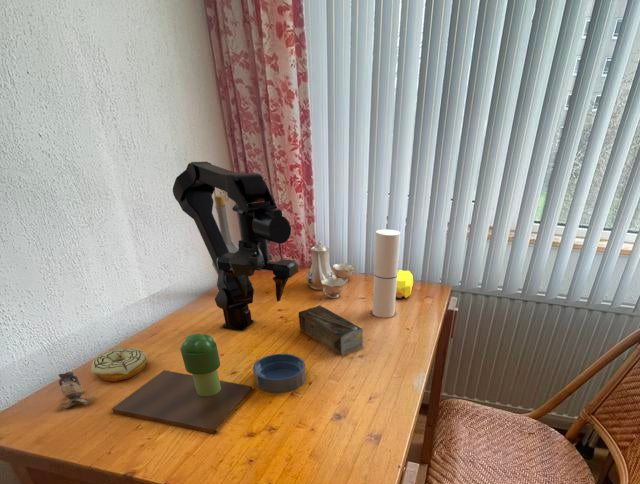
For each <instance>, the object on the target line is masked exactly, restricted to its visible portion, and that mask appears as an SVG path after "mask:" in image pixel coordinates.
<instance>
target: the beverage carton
mask: <svg viewBox="0 0 640 484" xmlns="http://www.w3.org/2000/svg"><path fill="white" fill-rule="evenodd" d="M298 323H299V330H300V331H301V332H302V333H304V334H306V335H307V336H308V337H310V338H312V339H314V340H315V341H317V342H319V343H320V344H322V345H324V346H325V347H327V348H329V349H331V350H332V351H334V352H336V353H338V354H339V355H345V354H347V353H350V352H352V351H354V350H358V349H361V348H363V343H364V339H363V338H364V337H363V334H364V333H363V332H364V329H363V328H362V327H360V326H358V325H357V324H355V323H353V322H351V321H349V320H348V319H346V318H344V317H342V316H340V315H338V314H337V313H335V312H333V311H332V310H329V309H328V308H326V307H325V306H322V305H317V306H314V307H310V308H307V309H305V310H301V311H298Z"/></svg>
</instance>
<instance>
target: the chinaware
mask: <svg viewBox="0 0 640 484" xmlns="http://www.w3.org/2000/svg"><path fill="white" fill-rule="evenodd" d="M310 250H311V254H312V259H311V260H312V261H311V266H310V268H309V270H308V272H307V274H306V276H305V279H306V281H307V282H308V284H309V287H310V289H312V290H316V291H322V296H323V297H324V298H325V297H328V298H330V299H338V298H339V296H340V295H341V294H342V292H343V291H344V289H345V285H347V282H348V281H349V278H351V277H352V275H353V272H354V270H355V264H348V263H347V262H340V263H333V264H332V268H331V266H330V261H329V251H330V248H329V247H328V246H326V245H324V244H323V242H322V241H321V240H318V242H317V244H315V245H314V246H312V247H310ZM332 269H333V270H332ZM325 293H326V295H325Z"/></svg>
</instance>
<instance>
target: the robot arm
mask: <svg viewBox="0 0 640 484" xmlns="http://www.w3.org/2000/svg"><path fill="white" fill-rule="evenodd" d="M216 189H219V190H221V191H223V192H225V193H226V195H227V198H229V200H231V201H233V202H234V203H235V204H234V205H233V207H232V208H231V210H232V211H233V212H236V213H237V218H238V226H239V231H240V240H238V248H239V249H238V251H237V252H235V253H231V252H229V250H228V248H227V246H226V243H225V241H224V239H223V237H222V234H221V232H220V227H219V224H218V223H217V221H216V219H215V217H214V214H213V210H214V209H213V208H214V202H215V200H214V197H213V195H214V192H215V190H216ZM172 194H173V197H174V200H176V201H177V203H178V205H179V206H180V208H181V210H182V211H183V212H184V213H185V214H186V215H188V217H190V218H191V219H192V220H193V222H194V223H195V225H196V227H197V230H198V232H199V234H200V237H201V239H202V240H203V244H204V246H205V247H206V250H207V252H208V254H209V257H210V258H211V260H212V261H213V263H214V265H215V267H216V269H217V272H218V274H217V281H216V287H217V290H218V292H217V294H216V296H215V297H214V302H215V305H216V307H217V308H219V309H221V310H222V312H223V318H224V324H222V328H224V329H229V330H236V331H245V330H246V329H247V328H249V326H251V325H252V324H253V323H254V320H253V319H252V313H251V310H250V307H249V305H250V304H253V302H254V295H255V289H254V287H253V283H252V282H251V280H250V278H249V277H252V276H253V275H254V274H255V272H256V271H259V272H260V271H261V270H264V271H272V274H273V277H272V280H273V281H274V285H275V298H276V302H278V303H279V302H281V300H282V296H283V293H284V290H285V287H286V284H287V282H288V280H289V279H290V278H292V277H293V276H295V275H296V274H297V273H299V265H298V263H297V261H296V260H293V259H285V258H281V259H280V260H278V261H276V262H272V261H271V260H272V256H273V255H272V254H270V253H269V245H268V244H269V243H270V242H272V243H274V244H279V245H282V244H284V243H286V242H287V241H289V239H290V236H291V234H292V233H291V232H292V225H291V224H290V222H289V220H288V218H286V216H284V215H283V211H282V209H280V208H278V205H277V204H276V199H275V198H274V197H273V195H272V193H271V191H270V188H269V186H268V184H267V183H266V181H265V179H264V176H262V174H260V173H258V172H235V171H231V170H229V169H226V168H223V167H220V166H218V165H215V164H213V163H211V162H209V161H191V162H188V164H187V166H186V169H185V170H183V171H182V172H181V173H180V174H179V175H178V176H176V178H175V180H174V182H173V186H172ZM212 261H211V262H212Z"/></svg>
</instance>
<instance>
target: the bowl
mask: <svg viewBox="0 0 640 484" xmlns="http://www.w3.org/2000/svg"><path fill="white" fill-rule="evenodd" d="M306 368H307V367H306V363H305V361H304V359H303V358H302V357H300V356H298V355H296V354H292V353H272V354H269V355H265V356H262V357H261V358H259V359H257V360H256V362H255V363H254V364H253V366H252V374H253V379H254V383H255V386H256V387H257V388H258V389H260V390H262V391H264V392H267V393H272V394H282V393H287V392H291V391H294V390H296V389H299V388H300V387H301V386H303V385H304V383H305V382H306V380H307V372H306V371H307V370H306Z"/></svg>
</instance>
